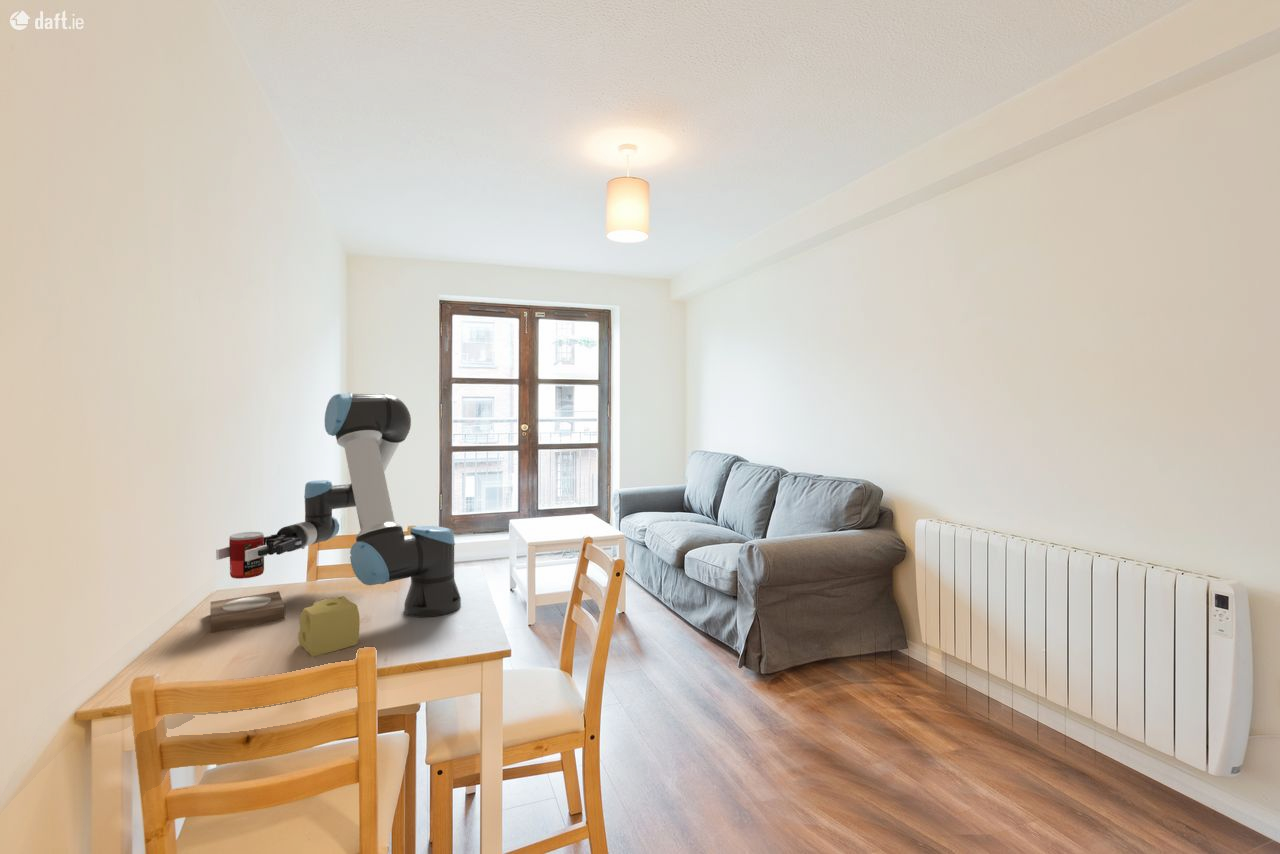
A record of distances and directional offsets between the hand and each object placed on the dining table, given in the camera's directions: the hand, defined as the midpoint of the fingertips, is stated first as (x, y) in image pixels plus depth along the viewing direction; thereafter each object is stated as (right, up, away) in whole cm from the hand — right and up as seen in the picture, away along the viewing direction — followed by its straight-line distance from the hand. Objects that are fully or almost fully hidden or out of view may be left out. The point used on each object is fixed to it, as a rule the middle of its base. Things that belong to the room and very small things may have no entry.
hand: (231, 555), depth 153 cm
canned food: (+1, -7, +5) cm, 8 cm away
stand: (+1, -18, +5) cm, 18 cm away
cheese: (+33, -19, -13) cm, 40 cm away
